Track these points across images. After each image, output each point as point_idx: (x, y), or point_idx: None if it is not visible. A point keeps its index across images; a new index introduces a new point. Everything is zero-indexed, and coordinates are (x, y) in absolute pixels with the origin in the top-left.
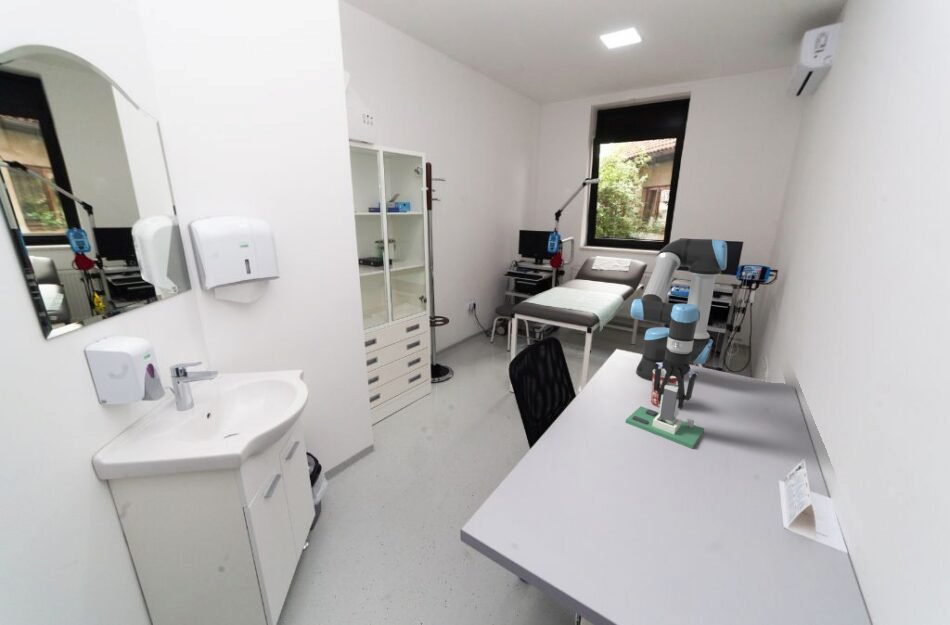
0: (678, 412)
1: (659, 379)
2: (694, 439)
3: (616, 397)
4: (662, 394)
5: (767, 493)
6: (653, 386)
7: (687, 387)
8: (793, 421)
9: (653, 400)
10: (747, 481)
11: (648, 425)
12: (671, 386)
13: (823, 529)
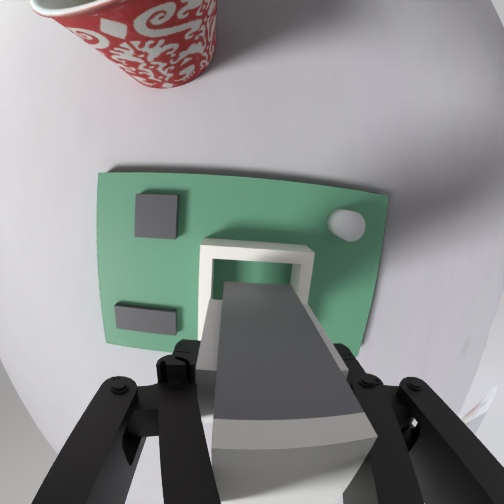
0: (311, 312)
1: (109, 484)
2: (362, 315)
3: (16, 151)
4: (201, 415)
5: (463, 382)
6: (91, 45)
7: (423, 500)
8: (493, 16)
9: (134, 78)
10: (446, 377)
11: (187, 334)
12: (275, 499)
13: (489, 394)
